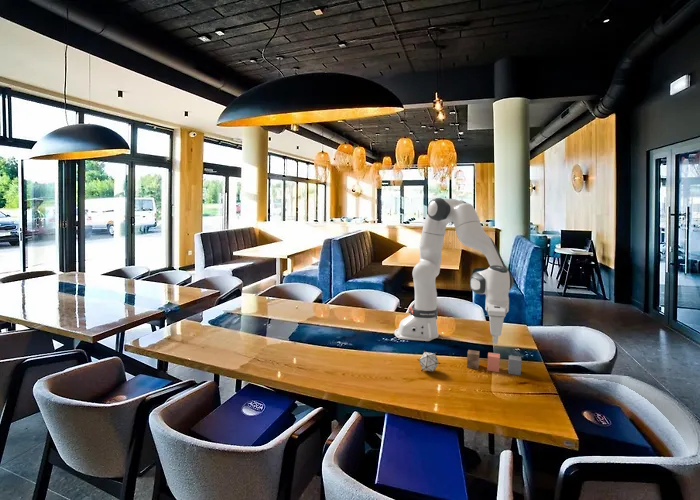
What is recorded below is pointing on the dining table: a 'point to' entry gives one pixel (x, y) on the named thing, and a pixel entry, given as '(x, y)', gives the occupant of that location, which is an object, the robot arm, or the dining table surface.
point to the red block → (493, 362)
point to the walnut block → (473, 359)
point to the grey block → (514, 365)
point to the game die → (428, 361)
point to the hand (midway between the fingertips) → (495, 339)
